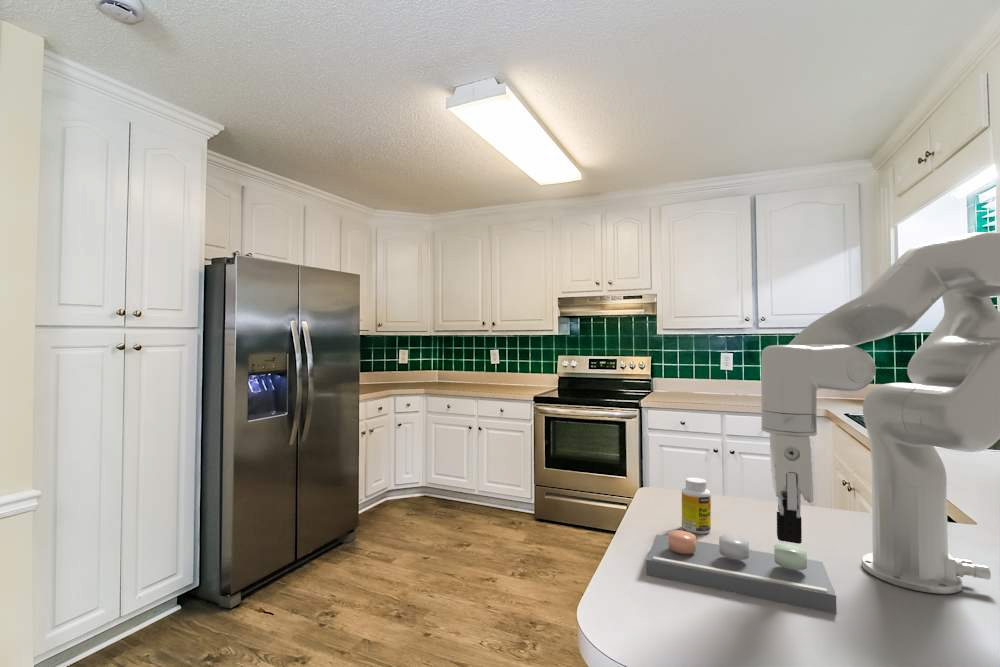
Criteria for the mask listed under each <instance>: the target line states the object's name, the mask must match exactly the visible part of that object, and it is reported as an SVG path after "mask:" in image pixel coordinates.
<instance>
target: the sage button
mask: <svg viewBox="0 0 1000 667" xmlns="http://www.w3.org/2000/svg"><path fill="white" fill-rule="evenodd" d="M773 548H774V552H773V554H774V561H775V563H776V564H778V565H780V566H782V567H784V568H788V569H792V570H805V569H806V568H807V559H808V551H807V550H806V549H804V548H803V547H801V546H797V545H793V544H788V543H776V544H775V545H773Z"/></svg>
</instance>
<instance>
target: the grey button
mask: <svg viewBox="0 0 1000 667" xmlns="http://www.w3.org/2000/svg"><path fill="white" fill-rule="evenodd" d="M718 545H719V553H720V554H721V555H723V556H725V557H727V558H731V559H736V560H745V559H748V558H749V550H750V543H749V541H748V539H745V538H743V537H741V536H738V535H730V534H724V535H720V536H719V537H718Z"/></svg>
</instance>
